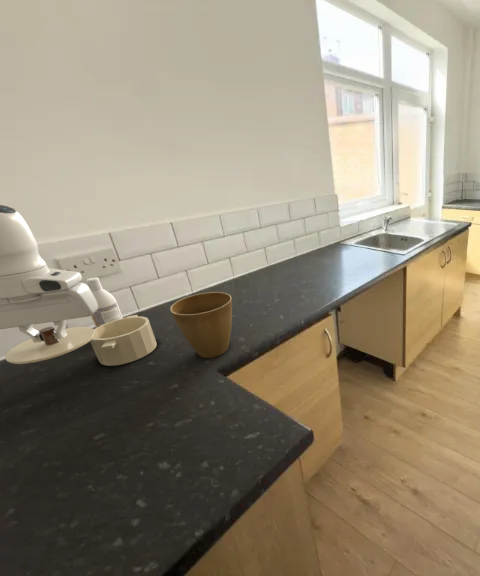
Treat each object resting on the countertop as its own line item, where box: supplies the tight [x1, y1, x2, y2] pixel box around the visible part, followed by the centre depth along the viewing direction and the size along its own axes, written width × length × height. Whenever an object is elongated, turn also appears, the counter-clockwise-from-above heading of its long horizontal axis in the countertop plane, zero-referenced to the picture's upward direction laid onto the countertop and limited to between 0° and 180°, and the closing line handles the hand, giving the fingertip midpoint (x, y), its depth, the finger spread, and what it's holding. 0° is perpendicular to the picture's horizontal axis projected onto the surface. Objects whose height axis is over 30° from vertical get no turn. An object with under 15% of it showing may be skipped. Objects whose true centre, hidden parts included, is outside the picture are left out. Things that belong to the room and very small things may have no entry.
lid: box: [4, 326, 96, 365], centre depth 72 cm, size 15×15×5 cm
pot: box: [89, 314, 158, 367], centre depth 92 cm, size 14×19×8 cm
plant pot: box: [169, 291, 233, 359], centre depth 90 cm, size 15×15×16 cm
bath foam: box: [85, 276, 124, 328], centre depth 99 cm, size 7×7×20 cm
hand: (51, 339), depth 72 cm, fingers closed on lid, 2 cm apart
